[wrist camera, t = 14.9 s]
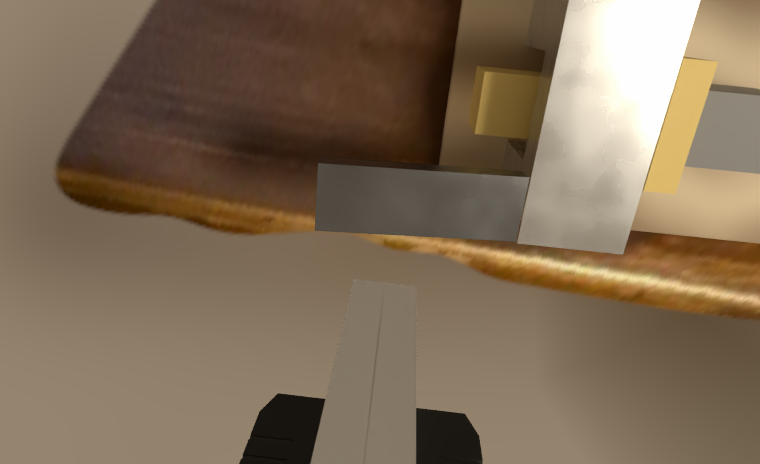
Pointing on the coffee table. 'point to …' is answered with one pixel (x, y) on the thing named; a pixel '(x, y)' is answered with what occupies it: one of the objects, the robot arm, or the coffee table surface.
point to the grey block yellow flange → (679, 129)
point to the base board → (655, 210)
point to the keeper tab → (419, 199)
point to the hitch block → (596, 116)
